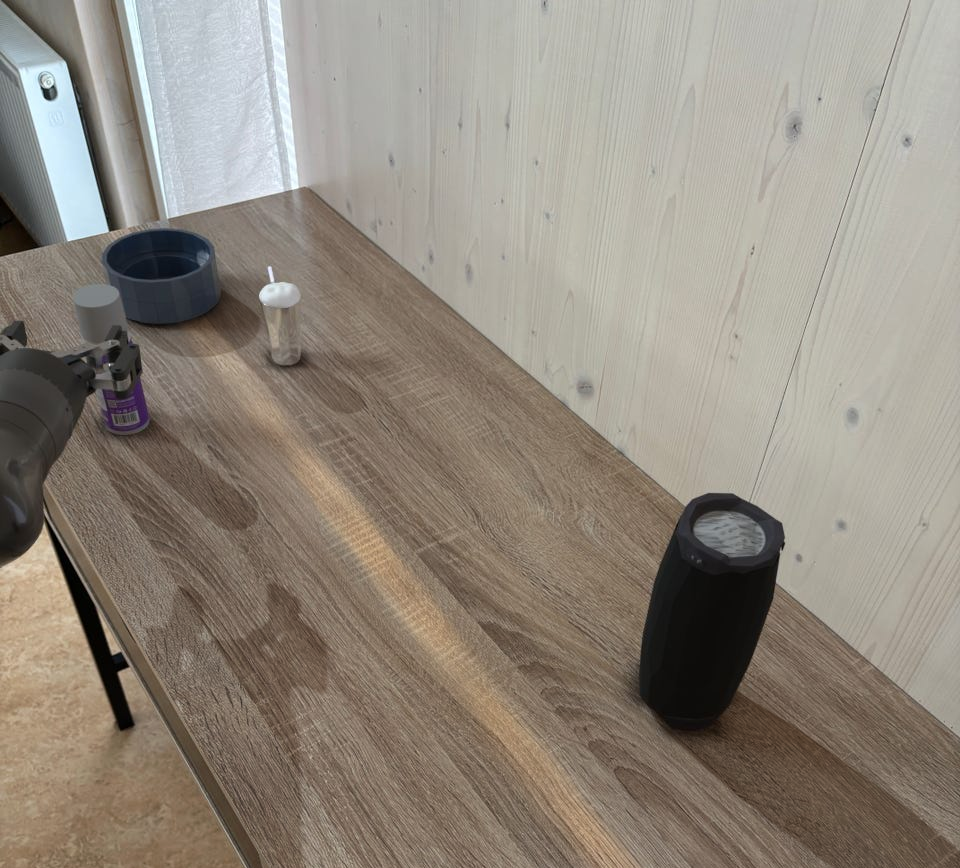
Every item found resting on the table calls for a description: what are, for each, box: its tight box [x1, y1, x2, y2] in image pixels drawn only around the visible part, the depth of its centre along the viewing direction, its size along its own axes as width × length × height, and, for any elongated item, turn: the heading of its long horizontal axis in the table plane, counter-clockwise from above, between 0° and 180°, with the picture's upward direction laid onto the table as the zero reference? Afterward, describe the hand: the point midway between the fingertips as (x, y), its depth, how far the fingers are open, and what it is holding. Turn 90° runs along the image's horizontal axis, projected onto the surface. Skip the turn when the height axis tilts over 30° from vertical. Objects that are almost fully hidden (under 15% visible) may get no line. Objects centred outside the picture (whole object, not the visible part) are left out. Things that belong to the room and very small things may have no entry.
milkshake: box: [258, 265, 302, 367], centre depth 119 cm, size 4×5×10 cm
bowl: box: [101, 227, 222, 325], centre depth 128 cm, size 13×13×6 cm
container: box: [71, 283, 150, 436], centre depth 108 cm, size 5×5×15 cm
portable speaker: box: [638, 492, 786, 732], centre depth 83 cm, size 9×9×20 cm
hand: (70, 332), depth 95 cm, fingers open, 8 cm apart
